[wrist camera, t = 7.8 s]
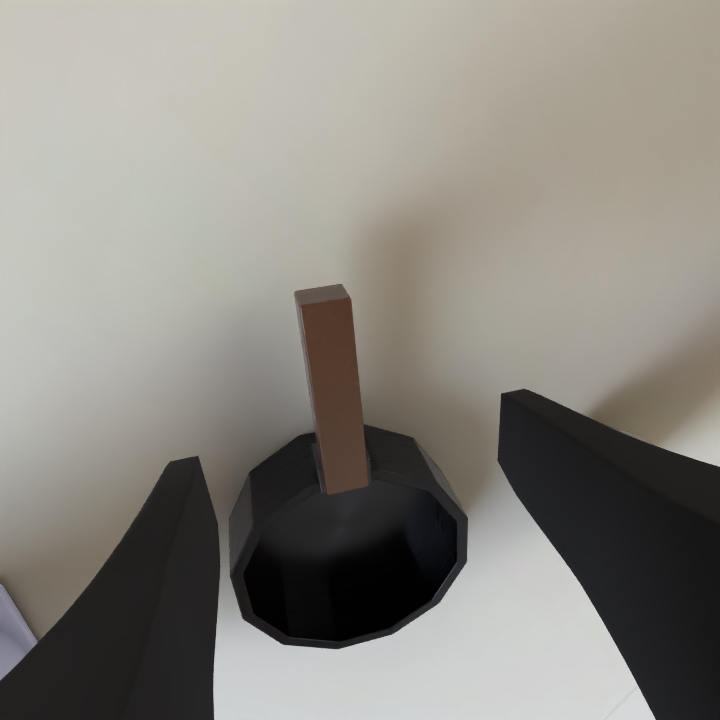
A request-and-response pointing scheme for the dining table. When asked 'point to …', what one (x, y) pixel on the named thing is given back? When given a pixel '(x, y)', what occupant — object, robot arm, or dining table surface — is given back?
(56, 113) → the dining table surface
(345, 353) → the pan
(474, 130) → the dining table surface
